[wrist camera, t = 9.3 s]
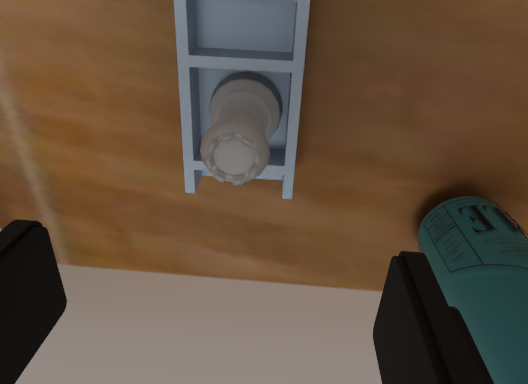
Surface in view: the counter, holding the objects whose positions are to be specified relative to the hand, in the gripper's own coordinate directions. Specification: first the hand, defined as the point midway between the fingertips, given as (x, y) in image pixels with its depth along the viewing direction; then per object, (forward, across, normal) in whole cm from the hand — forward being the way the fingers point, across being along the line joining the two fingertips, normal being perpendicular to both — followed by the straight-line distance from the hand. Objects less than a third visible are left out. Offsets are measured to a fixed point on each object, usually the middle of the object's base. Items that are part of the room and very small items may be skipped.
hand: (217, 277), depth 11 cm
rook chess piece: (+16, +1, 0) cm, 16 cm away
